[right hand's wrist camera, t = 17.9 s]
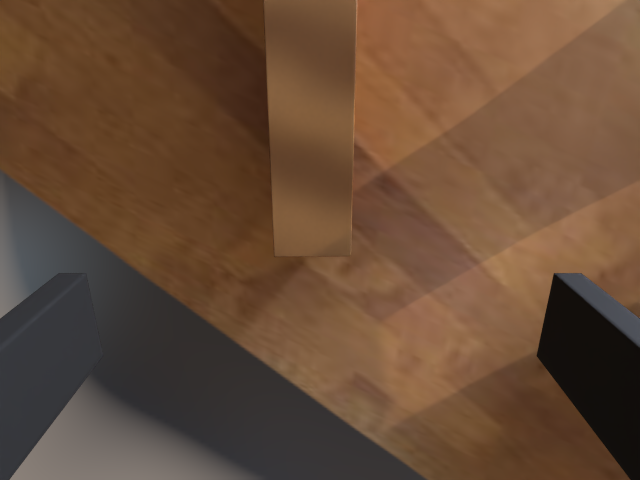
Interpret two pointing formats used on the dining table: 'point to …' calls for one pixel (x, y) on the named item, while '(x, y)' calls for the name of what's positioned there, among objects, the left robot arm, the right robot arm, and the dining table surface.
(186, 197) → the dining table surface
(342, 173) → the post
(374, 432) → the dining table surface
